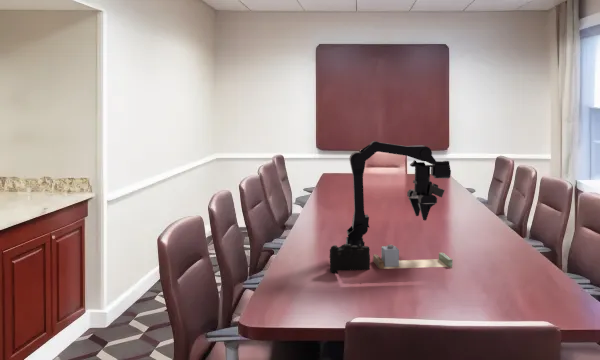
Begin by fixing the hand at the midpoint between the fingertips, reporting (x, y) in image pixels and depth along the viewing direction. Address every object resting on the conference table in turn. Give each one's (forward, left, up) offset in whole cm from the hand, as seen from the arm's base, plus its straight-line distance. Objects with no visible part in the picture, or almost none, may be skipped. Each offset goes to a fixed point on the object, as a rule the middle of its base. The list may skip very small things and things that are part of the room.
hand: (420, 218), depth 216 cm
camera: (-32, -19, -14) cm, 40 cm away
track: (-9, -18, -14) cm, 25 cm away
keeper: (-17, -18, -13) cm, 28 cm away
